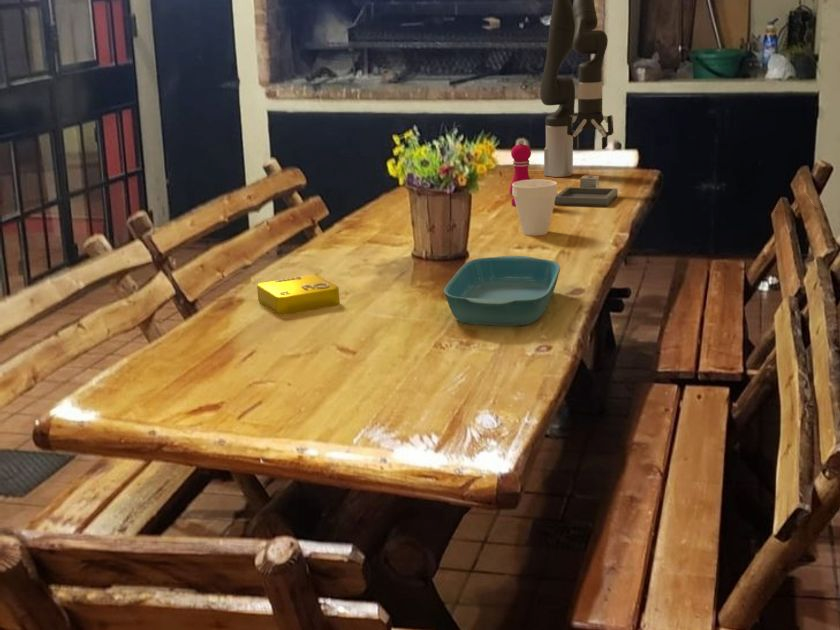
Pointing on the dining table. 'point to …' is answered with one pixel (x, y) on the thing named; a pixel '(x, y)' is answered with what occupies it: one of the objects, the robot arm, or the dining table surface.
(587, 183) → the grey dotted cube
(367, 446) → the dining table surface
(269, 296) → the element tile
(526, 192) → the cup
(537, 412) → the dining table surface
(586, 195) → the tray
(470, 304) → the casserole dish
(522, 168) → the pepper mill
